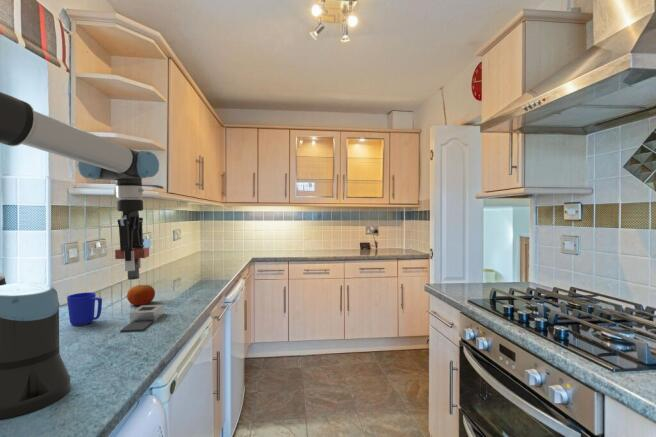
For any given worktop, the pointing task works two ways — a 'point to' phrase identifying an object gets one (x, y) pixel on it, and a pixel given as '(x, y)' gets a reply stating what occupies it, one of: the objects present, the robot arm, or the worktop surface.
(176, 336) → the worktop surface
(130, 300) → the fruit
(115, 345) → the worktop surface
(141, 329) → the mat
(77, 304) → the mug
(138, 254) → the key
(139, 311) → the block
